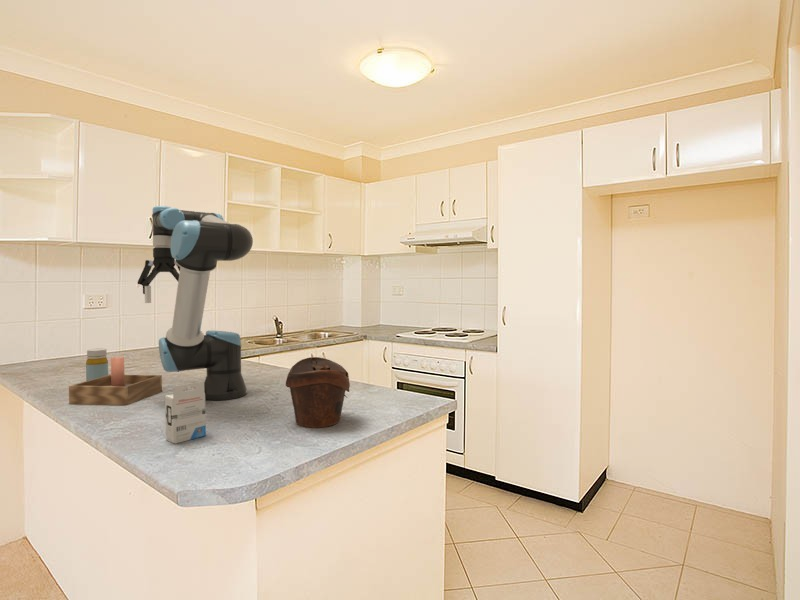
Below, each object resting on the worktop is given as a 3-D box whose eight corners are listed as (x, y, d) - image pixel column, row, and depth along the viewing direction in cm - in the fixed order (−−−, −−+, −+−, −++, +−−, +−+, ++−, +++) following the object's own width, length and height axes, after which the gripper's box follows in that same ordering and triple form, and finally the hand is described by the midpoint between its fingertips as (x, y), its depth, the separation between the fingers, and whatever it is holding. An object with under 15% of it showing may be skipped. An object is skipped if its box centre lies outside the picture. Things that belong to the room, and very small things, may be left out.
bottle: (97, 391, 171) (96, 351, 171) (81, 390, 173) (81, 350, 172) (112, 387, 178) (112, 348, 178) (97, 386, 180) (96, 348, 179)
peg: (127, 396, 164) (126, 357, 164) (119, 398, 160) (118, 358, 160) (116, 395, 164) (116, 356, 164) (108, 398, 160) (108, 358, 160)
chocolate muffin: (324, 435, 121) (324, 368, 121) (271, 424, 132) (271, 361, 132) (364, 420, 136) (364, 360, 136) (314, 410, 147) (314, 354, 147)
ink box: (197, 432, 125) (196, 378, 124) (206, 435, 122) (205, 380, 121) (165, 440, 118) (164, 383, 118) (173, 444, 115) (172, 386, 114)
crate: (162, 391, 172) (161, 375, 171) (126, 405, 152) (125, 387, 151) (111, 390, 173) (110, 374, 173) (69, 403, 153) (68, 386, 153)
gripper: (200, 248, 179) (201, 302, 179) (139, 248, 180) (140, 302, 181) (190, 246, 171) (190, 303, 172) (126, 247, 173) (127, 303, 174)
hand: (164, 303), depth 176 cm, fingers open, 13 cm apart
